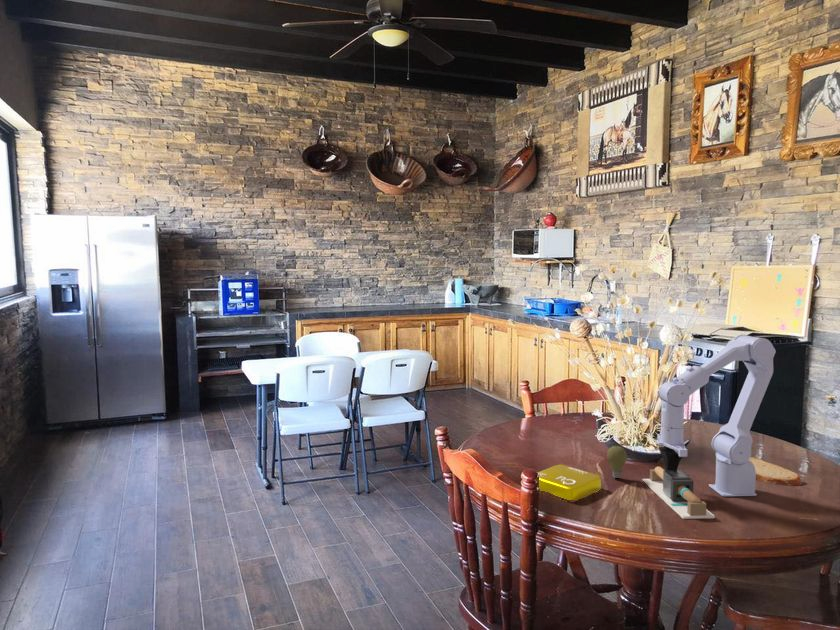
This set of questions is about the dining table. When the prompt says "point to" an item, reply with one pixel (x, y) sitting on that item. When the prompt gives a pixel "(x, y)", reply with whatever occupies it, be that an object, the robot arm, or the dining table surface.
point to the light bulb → (616, 460)
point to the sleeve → (672, 475)
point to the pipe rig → (684, 508)
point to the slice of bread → (774, 473)
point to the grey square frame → (674, 488)
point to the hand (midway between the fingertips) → (671, 473)
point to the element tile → (568, 482)
